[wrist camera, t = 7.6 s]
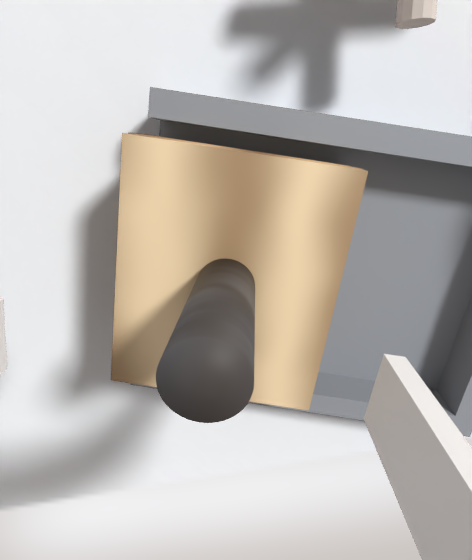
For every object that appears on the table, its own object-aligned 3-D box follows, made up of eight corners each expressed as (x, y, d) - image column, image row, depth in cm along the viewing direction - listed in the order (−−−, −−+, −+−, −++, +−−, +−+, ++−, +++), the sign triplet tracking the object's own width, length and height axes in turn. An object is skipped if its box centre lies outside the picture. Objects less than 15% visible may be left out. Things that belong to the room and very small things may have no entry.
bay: (147, 352, 32) (130, 384, 27) (167, 96, 25) (150, 87, 21) (441, 397, 32) (469, 437, 27) (533, 153, 25) (589, 154, 21)
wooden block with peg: (138, 334, 29) (26, 514, 15) (152, 135, 25) (10, 120, 10) (299, 359, 29) (339, 562, 15) (343, 164, 25) (461, 190, 10)
